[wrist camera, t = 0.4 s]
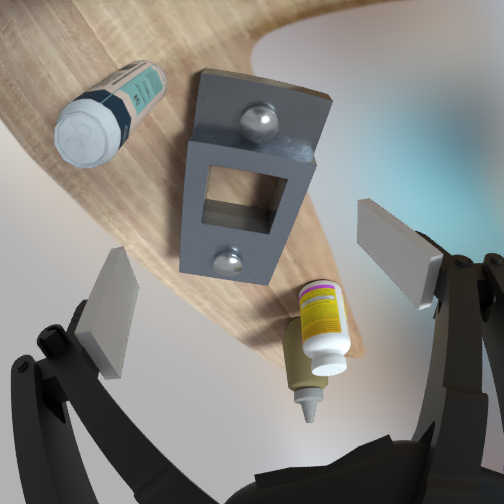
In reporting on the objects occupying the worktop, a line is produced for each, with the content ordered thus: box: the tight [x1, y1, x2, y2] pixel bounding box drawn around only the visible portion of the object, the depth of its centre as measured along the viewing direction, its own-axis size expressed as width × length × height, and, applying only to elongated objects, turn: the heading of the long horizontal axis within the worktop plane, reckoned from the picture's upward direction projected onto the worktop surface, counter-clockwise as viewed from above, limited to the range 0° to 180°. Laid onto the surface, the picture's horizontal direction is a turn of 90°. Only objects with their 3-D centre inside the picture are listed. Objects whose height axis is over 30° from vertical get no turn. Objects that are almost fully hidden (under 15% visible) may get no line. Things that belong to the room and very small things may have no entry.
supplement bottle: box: [299, 280, 351, 376], centre depth 41 cm, size 7×7×13 cm
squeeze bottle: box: [282, 317, 328, 423], centre depth 46 cm, size 8×8×18 cm
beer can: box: [54, 60, 167, 168], centre depth 19 cm, size 5×5×12 cm
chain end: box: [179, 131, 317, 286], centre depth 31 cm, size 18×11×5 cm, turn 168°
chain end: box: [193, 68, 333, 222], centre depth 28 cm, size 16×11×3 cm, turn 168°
